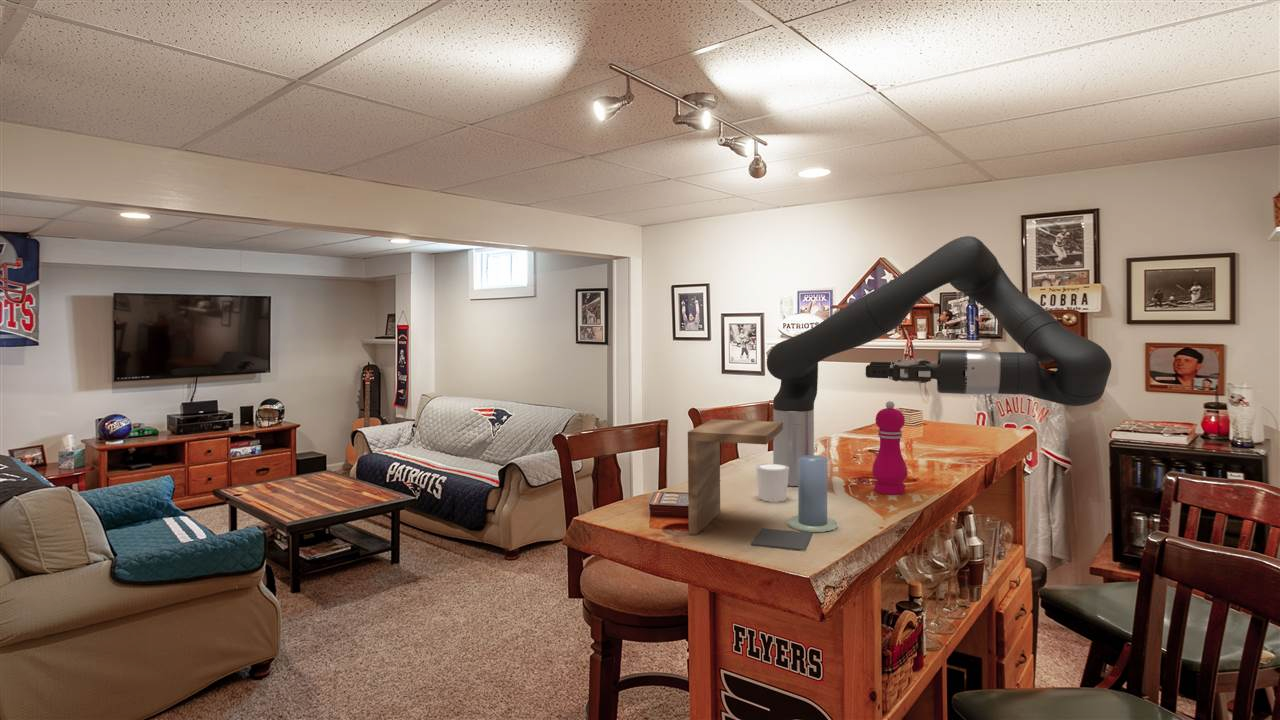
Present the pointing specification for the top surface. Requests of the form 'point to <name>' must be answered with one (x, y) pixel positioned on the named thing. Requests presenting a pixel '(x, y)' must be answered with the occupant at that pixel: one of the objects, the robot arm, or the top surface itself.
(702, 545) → the top surface
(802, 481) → the blue pillar candle
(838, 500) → the top surface
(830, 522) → the coaster
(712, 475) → the shelf
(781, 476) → the white cup
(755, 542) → the drip mat
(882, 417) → the pepper mill
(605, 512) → the top surface
